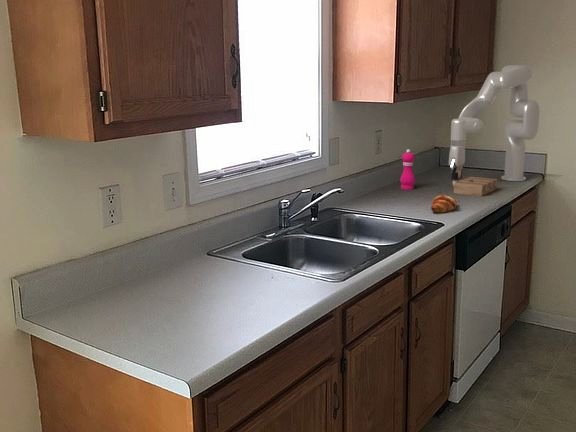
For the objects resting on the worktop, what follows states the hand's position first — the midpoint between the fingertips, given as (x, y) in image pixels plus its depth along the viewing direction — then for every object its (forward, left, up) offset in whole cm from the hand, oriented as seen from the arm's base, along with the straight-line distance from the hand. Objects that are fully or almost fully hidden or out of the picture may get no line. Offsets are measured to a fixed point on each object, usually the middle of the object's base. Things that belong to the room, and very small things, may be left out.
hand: (456, 178), depth 331 cm
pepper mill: (+19, -18, -4) cm, 26 cm away
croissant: (+51, +17, -4) cm, 54 cm away
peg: (0, 0, -4) cm, 4 cm away
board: (+7, +13, -4) cm, 15 cm away
